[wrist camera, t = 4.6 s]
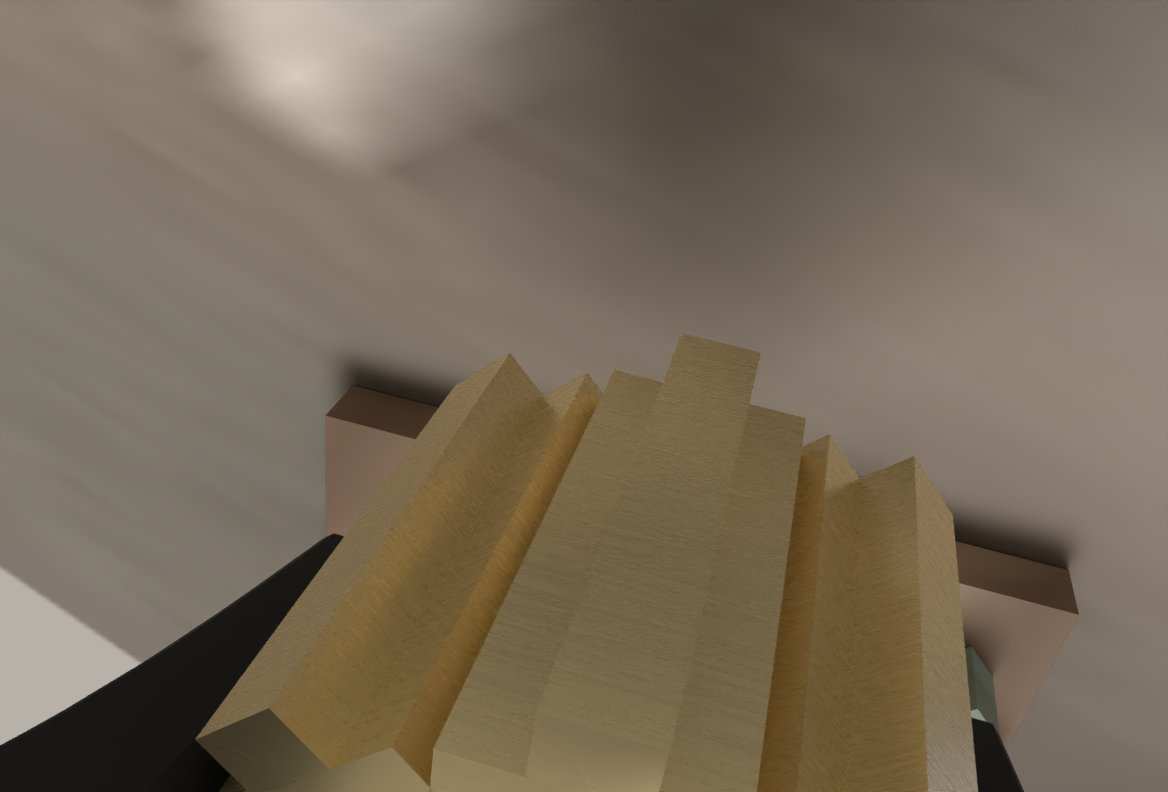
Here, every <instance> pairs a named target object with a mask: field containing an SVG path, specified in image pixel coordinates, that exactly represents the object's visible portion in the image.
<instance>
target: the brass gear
mask: <svg viewBox="0 0 1168 792" xmlns="http://www.w3.org/2000/svg"><path fill="white" fill-rule="evenodd" d="M760 354H761V353H760V352H756V351H752V350H748V349H744V348H739V347H735V346H731V345H727V344H723V343H719V342H715V341H711V340H707V339H703V338H699V337H695V336H691V335H687V334H683V333H681V336H680V339H679V341H678V344H677V347H676V349H675V352H674V354H673V357H672V360H671V362H670V365H669V367H668V370H667V373H666V375H665V378H664V380H663V382H660V381H656V380H653V379H649V378H645V377H641V376H637V375H633V374H629V373H625V372H621V371H617V370H614V371H613V373H612V375H611V377H610V379H609V381H608V384H607V386H606V388H605V390H604V392H603V393H602V392H601V390H600V389H599V388H598V386H597V385H596V384H595V382H594V381H593V380H592V378H591V377H590V376H589V374H588V373H585V374H584V375H582V376H580V377H578V378H576V379H574V380H573V381H571V382H569V383H567V384H565V385H563V386H562V387H560V388H558V389H556V390H554V391H552V392H551V393H549V394H547V395H545V396H543V395H542V394H541V392H540V391H539V390H538V388H537V387H536V386H535V385H534V383H533V382H532V381H531V379H530V378H529V377H528V375H527V374H526V373H525V372H524V370H523V369H522V368H521V366H520V365H519V364H518V363H517V361H516V360H515V359H514V357H513V356H512V355H511V353H509V354H507V355H505V356H504V357H502V358H500V359H499V360H497V361H495V362H493V363H492V364H490V365H488V366H487V367H485V368H483V369H482V370H480V371H478V372H476V373H475V374H473V375H471V376H470V377H468V378H466V379H465V380H463V381H461V382H459V383H458V384H456V385H455V386H454V388H453V389H452V390H451V392H450V393H449V394H448V396H447V397H446V399H445V400H444V401H443V403H442V404H441V405H440V407H439V408H438V409H437V411H436V412H435V414H434V415H433V416H432V418H431V419H430V420H429V422H428V423H427V424H426V426H425V427H424V429H423V430H422V431H421V433H420V434H419V435H418V437H417V438H416V439H415V441H414V442H413V444H412V445H411V446H410V448H409V449H408V450H407V452H406V453H405V454H404V456H403V457H402V458H401V460H400V461H399V463H398V464H397V465H396V467H395V468H394V469H393V471H392V472H391V473H390V475H389V476H388V478H387V479H386V480H385V482H384V483H383V484H382V486H381V487H380V488H379V490H378V491H377V493H376V494H375V495H374V497H373V498H372V499H371V501H370V502H369V503H368V505H367V506H366V507H365V509H364V510H363V512H362V513H361V514H360V516H359V517H358V518H357V520H356V521H355V522H354V524H353V525H352V527H351V528H350V529H349V531H348V532H347V533H346V535H345V536H344V537H343V539H342V540H341V542H340V543H339V544H338V546H337V547H336V548H335V550H334V551H333V552H332V554H331V555H330V557H329V558H328V559H327V561H326V562H325V563H324V565H323V566H322V567H321V569H320V570H319V571H318V573H317V574H316V576H315V577H314V578H313V580H312V581H311V582H310V584H309V585H308V586H307V588H306V589H305V591H304V592H303V593H302V595H301V596H300V597H299V599H298V600H297V601H296V603H295V604H294V606H293V607H292V608H291V610H290V611H289V612H288V614H287V615H286V616H285V618H284V619H283V621H282V622H281V623H280V625H279V626H278V627H277V629H276V630H275V631H274V633H273V634H272V635H271V637H270V638H269V640H268V641H267V642H266V644H265V645H264V646H263V648H262V649H261V650H260V652H259V653H258V655H257V656H256V657H255V659H254V660H253V661H252V663H251V664H250V665H249V667H248V668H247V670H246V671H245V672H244V674H243V675H242V676H241V678H240V679H239V680H238V682H237V683H236V685H235V686H234V687H233V689H232V690H231V691H230V693H229V694H228V695H227V697H226V698H225V699H224V701H223V702H222V704H221V705H220V706H219V708H218V709H217V710H216V712H215V713H214V714H213V716H212V717H211V719H210V720H209V721H208V723H207V724H206V725H205V727H204V728H203V729H202V731H201V732H200V734H199V735H198V736H197V738H196V739H195V740H196V741H197V742H198V743H199V744H200V745H201V746H202V747H203V748H204V749H205V750H206V751H207V752H208V753H209V754H210V755H211V756H212V757H213V758H214V759H215V760H216V761H218V762H219V763H220V764H221V765H222V766H223V767H224V768H225V769H226V770H227V771H228V772H229V773H230V774H231V775H230V776H229V778H228V779H227V781H226V782H225V784H224V785H223V787H222V788H221V790H220V791H219V792H978V786H977V775H976V764H975V753H974V742H973V731H972V720H971V709H970V698H969V687H968V676H967V665H966V654H965V643H964V632H963V621H962V610H961V599H960V588H959V577H958V566H957V556H956V545H955V534H954V523H953V515H952V513H951V511H950V510H949V508H948V507H947V505H946V504H945V502H944V501H943V499H942V498H941V496H940V495H939V493H938V492H937V490H936V489H935V487H934V485H933V484H932V482H931V481H930V479H929V478H928V476H927V475H926V473H925V472H924V470H923V469H922V467H921V466H920V464H919V462H918V461H917V459H916V458H915V456H913V457H911V458H908V459H906V460H904V461H901V462H899V463H896V464H894V465H892V466H889V467H887V468H884V469H882V470H879V471H877V472H875V473H872V474H870V475H867V476H865V477H863V478H859V477H858V475H857V474H856V472H855V471H854V469H853V468H852V466H851V465H850V464H849V462H848V461H847V459H846V458H845V456H844V455H843V453H842V452H841V450H840V449H839V447H838V446H837V444H836V443H835V441H834V440H833V439H832V437H831V436H830V435H827V436H825V437H823V438H821V439H818V440H816V441H814V442H812V443H809V444H807V445H805V446H803V447H802V443H803V435H804V428H805V420H806V418H802V417H798V416H794V415H790V414H786V413H782V412H779V411H775V410H771V409H767V408H763V407H759V406H755V405H751V404H749V403H750V398H751V394H752V389H753V385H754V381H755V376H756V372H757V367H758V363H759V359H760Z"/></svg>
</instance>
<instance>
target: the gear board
mask: <svg viewBox="0 0 1168 792" xmlns="http://www.w3.org/2000/svg"><path fill="white" fill-rule="evenodd" d="M438 408H439V407H435V406H431V405H427V404H423V403H419V402H416V401H412V400H408V399H404V398H400V397H396V396H392V395H389V394H385V393H381V392H377V391H373V390H369V389H365V388H361V387H358V386H354V385H353V386H352V387H351V388H350V389H349V390H348V392H347V393H346V394H345V395H344V396H343V397H342V398H341V399H340V400H339V401H338V403H337V404H336V405H335V406H334V407H333V408H332V409H331V410H330V411H329V412H328V413H327V415H326V519H327V536H329V535H331V534H333V533H335V534H338V535H342V536H345V535H346V533H347V532H348V531H349V529H350V528H351V527H352V525H353V524H354V522H355V521H356V520H357V518H358V517H359V516H360V514H361V513H362V512H363V510H364V509H365V507H366V506H367V505H368V503H369V502H370V501H371V499H372V498H373V497H374V495H375V494H376V493H377V491H378V490H379V488H380V487H381V486H382V484H383V483H384V482H385V480H386V479H387V478H388V476H389V475H390V473H391V472H392V471H393V469H394V468H395V467H396V465H397V464H398V463H399V461H400V460H401V458H402V457H403V456H404V454H405V453H406V452H407V450H408V449H409V448H410V446H411V445H412V444H413V442H414V441H415V439H416V438H417V437H418V435H419V434H420V433H421V431H422V430H423V429H424V427H425V426H426V424H427V423H428V422H429V420H430V419H431V418H432V416H433V415H434V414H435V412H436V411H437V409H438ZM955 545H956V556H957V566H958V577H959V588H960V599H961V610H962V621H963V632H964V643H965V654H966V665H967V676H968V687H969V698H970V709H971V717H972V718H975V719H979V720H982V721H986V722H989V723H992V724H993V725H994V727H995V728H996V730H997V732H998V734H999V735H1000V738H1001V740H1002V742H1003V744H1004V747H1005V749H1006V750H1007V748H1008V746H1009V744H1010V742H1011V740H1012V738H1013V737H1014V735H1015V733H1016V731H1017V729H1018V727H1019V725H1020V724H1021V722H1022V720H1023V718H1024V716H1025V714H1026V712H1027V710H1028V709H1029V707H1030V705H1031V703H1032V701H1033V699H1034V697H1035V696H1036V694H1037V692H1038V690H1039V688H1040V686H1041V684H1042V683H1043V681H1044V679H1045V677H1046V675H1047V673H1048V671H1049V669H1050V668H1051V666H1052V664H1053V662H1054V660H1055V658H1056V656H1057V655H1058V653H1059V651H1060V649H1061V647H1062V645H1063V643H1064V642H1065V640H1066V638H1067V636H1068V634H1069V632H1070V630H1071V628H1072V627H1073V625H1074V623H1075V621H1076V619H1077V617H1078V615H1079V613H1078V609H1077V605H1076V600H1075V596H1074V592H1073V587H1072V583H1071V579H1070V574H1069V570H1065V569H1062V568H1058V567H1054V566H1050V565H1046V564H1042V563H1038V562H1034V561H1031V560H1027V559H1023V558H1019V557H1015V556H1011V555H1007V554H1004V553H1000V552H996V551H992V550H988V549H984V548H980V547H976V546H973V545H969V544H965V543H961V542H957V541H955Z"/></svg>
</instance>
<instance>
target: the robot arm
mask: <svg viewBox="0 0 1168 792" xmlns="http://www.w3.org/2000/svg"><path fill="white" fill-rule="evenodd" d="M343 537H344V536H342V535H338V534H335V533H333V534H331V535H329V536H327V537H326V538H324V539H322V540H321V541H319V542H318V543H317V544H315V545H314V546H312V547H311V548H310V549H308V550H307V551H305V552H304V553H302V554H301V555H300V556H298V557H297V558H296V559H294V560H293V561H291V562H290V563H289V564H287V565H286V566H284V567H283V568H282V569H280V570H279V571H277V572H276V573H275V574H273V575H272V576H270V577H269V578H268V579H266V580H265V581H263V582H262V583H260V584H259V585H258V586H256V587H255V588H253V589H252V590H250V591H249V592H248V593H246V594H245V595H243V596H242V597H240V598H239V599H238V600H236V601H235V602H233V603H232V604H230V605H229V606H228V607H226V608H225V609H223V610H222V611H220V612H219V613H217V614H216V615H214V616H213V617H211V618H210V619H208V620H207V621H205V622H204V623H202V624H201V625H199V626H198V627H196V628H195V629H193V630H192V631H190V632H189V633H187V634H186V635H184V636H183V637H181V638H180V639H178V640H177V641H175V642H174V643H172V644H171V645H169V646H168V647H166V648H165V649H163V650H162V651H160V652H159V653H157V654H155V655H154V656H152V657H151V658H149V659H148V660H146V661H144V662H143V663H141V664H140V665H138V666H137V667H135V668H133V669H131V670H130V671H128V672H126V673H125V674H123V675H122V676H120V677H118V678H117V679H115V680H113V681H112V682H110V683H108V684H107V685H105V686H103V687H102V688H100V689H98V690H97V691H95V692H93V693H92V694H90V695H88V696H87V697H85V698H84V699H82V700H80V701H78V702H77V703H75V704H73V705H72V706H70V707H68V708H67V709H65V710H64V711H62V712H60V713H58V714H57V715H55V716H53V717H51V718H49V719H48V720H46V721H44V722H42V723H40V724H38V725H37V726H35V727H33V728H31V729H30V730H28V731H26V732H24V733H22V734H20V735H19V736H17V737H15V738H13V739H11V740H9V741H7V742H6V743H4V744H2V745H0V792H219V791H220V790H221V788H222V787H223V785H224V784H225V782H226V781H227V779H228V778H229V776H230V775H231V774H230V773H229V772H228V771H227V770H226V769H225V768H224V767H223V766H222V765H221V764H220V763H219V762H218V761H216V760H215V759H214V758H213V757H212V756H211V755H210V754H209V753H208V752H207V751H206V750H205V749H204V748H203V747H202V746H201V745H200V744H199V743H198V742H197V741H196V740H195V739H196V738H197V736H198V735H199V734H200V732H201V731H202V729H203V728H204V727H205V725H206V724H207V723H208V721H209V720H210V719H211V717H212V716H213V714H214V713H215V712H216V710H217V709H218V708H219V706H220V705H221V704H222V702H223V701H224V699H225V698H226V697H227V695H228V694H229V693H230V691H231V690H232V689H233V687H234V686H235V685H236V683H237V682H238V680H239V679H240V678H241V676H242V675H243V674H244V672H245V671H246V670H247V668H248V667H249V665H250V664H251V663H252V661H253V660H254V659H255V657H256V656H257V655H258V653H259V652H260V650H261V649H262V648H263V646H264V645H265V644H266V642H267V641H268V640H269V638H270V637H271V635H272V634H273V633H274V631H275V630H276V629H277V627H278V626H279V625H280V623H281V622H282V621H283V619H284V618H285V616H286V615H287V614H288V612H289V611H290V610H291V608H292V607H293V606H294V604H295V603H296V601H297V600H298V599H299V597H300V596H301V595H302V593H303V592H304V591H305V589H306V588H307V586H308V585H309V584H310V582H311V581H312V580H313V578H314V577H315V576H316V574H317V573H318V571H319V570H320V569H321V567H322V566H323V565H324V563H325V562H326V561H327V559H328V558H329V557H330V555H331V554H332V552H333V551H334V550H335V548H336V547H337V546H338V544H339V543H340V542H341V540H342V539H343ZM971 720H972V731H973V742H974V753H975V764H976V775H977V786H978V792H1024V790H1023V788H1022V786H1021V784H1020V781H1019V779H1018V777H1017V774H1016V772H1015V770H1014V768H1013V765H1012V763H1011V761H1010V758H1009V756H1008V754H1007V751H1006V749H1005V747H1004V744H1003V742H1002V740H1001V738H1000V735H999V734H998V732H997V730H996V728H995V727H994V725H993V724H992V723H989V722H986V721H982V720H979V719H975V718H972V717H971Z"/></svg>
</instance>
